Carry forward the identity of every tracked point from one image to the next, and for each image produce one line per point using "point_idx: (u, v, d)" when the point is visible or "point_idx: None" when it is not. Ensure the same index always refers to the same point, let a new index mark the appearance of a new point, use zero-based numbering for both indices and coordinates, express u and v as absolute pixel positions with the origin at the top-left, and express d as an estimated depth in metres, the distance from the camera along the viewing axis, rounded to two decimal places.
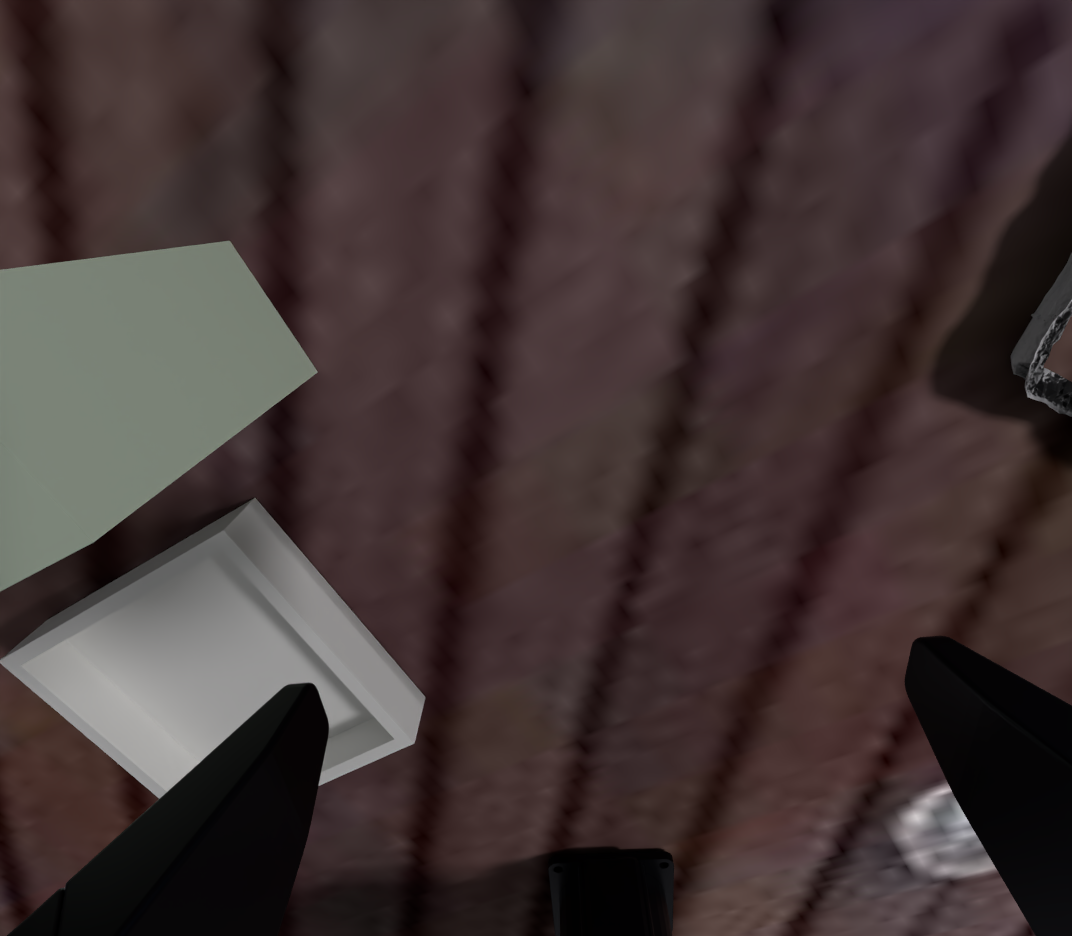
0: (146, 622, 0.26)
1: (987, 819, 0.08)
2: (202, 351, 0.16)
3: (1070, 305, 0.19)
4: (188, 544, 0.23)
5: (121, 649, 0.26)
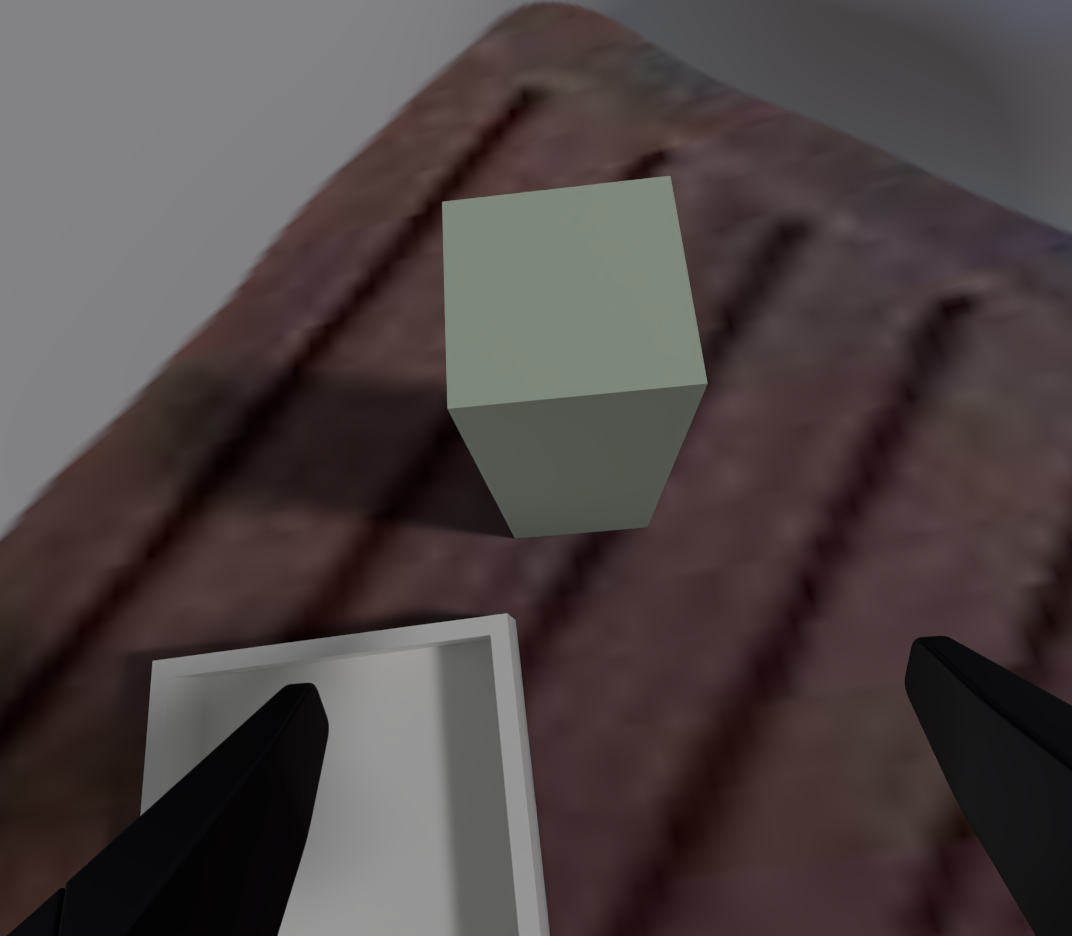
0: None
1: (987, 819, 0.08)
2: None
3: None
4: None
5: None
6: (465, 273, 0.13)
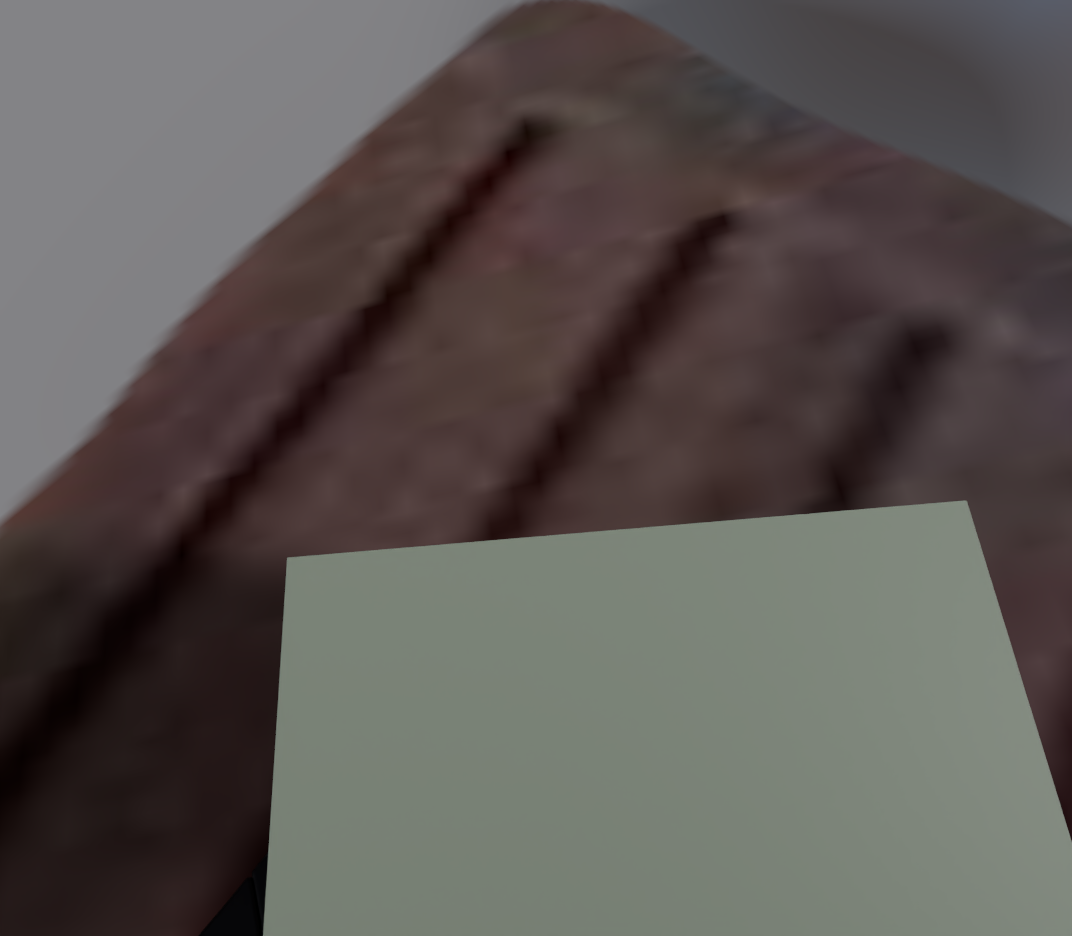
0: None
1: None
2: None
3: None
4: None
5: None
6: (338, 842, 0.04)
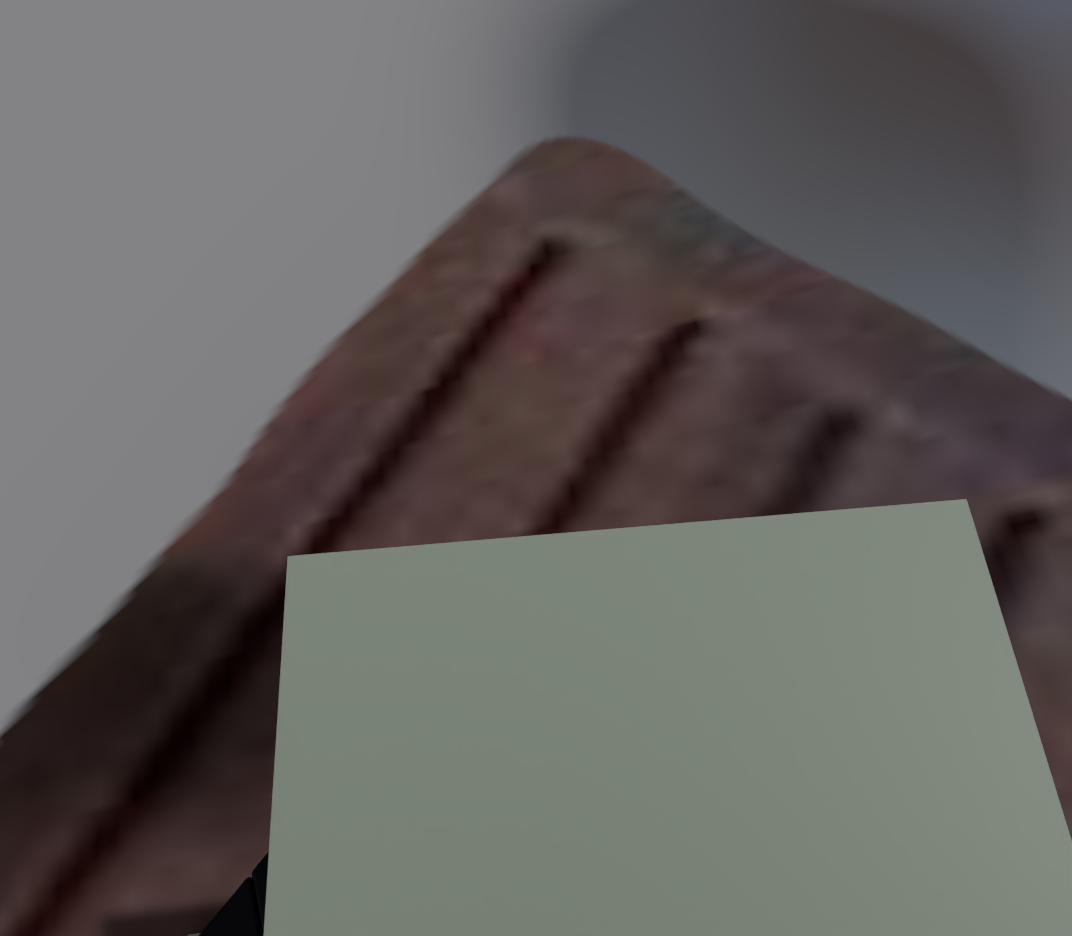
0: None
1: None
2: None
3: None
4: None
5: None
6: (338, 841, 0.04)
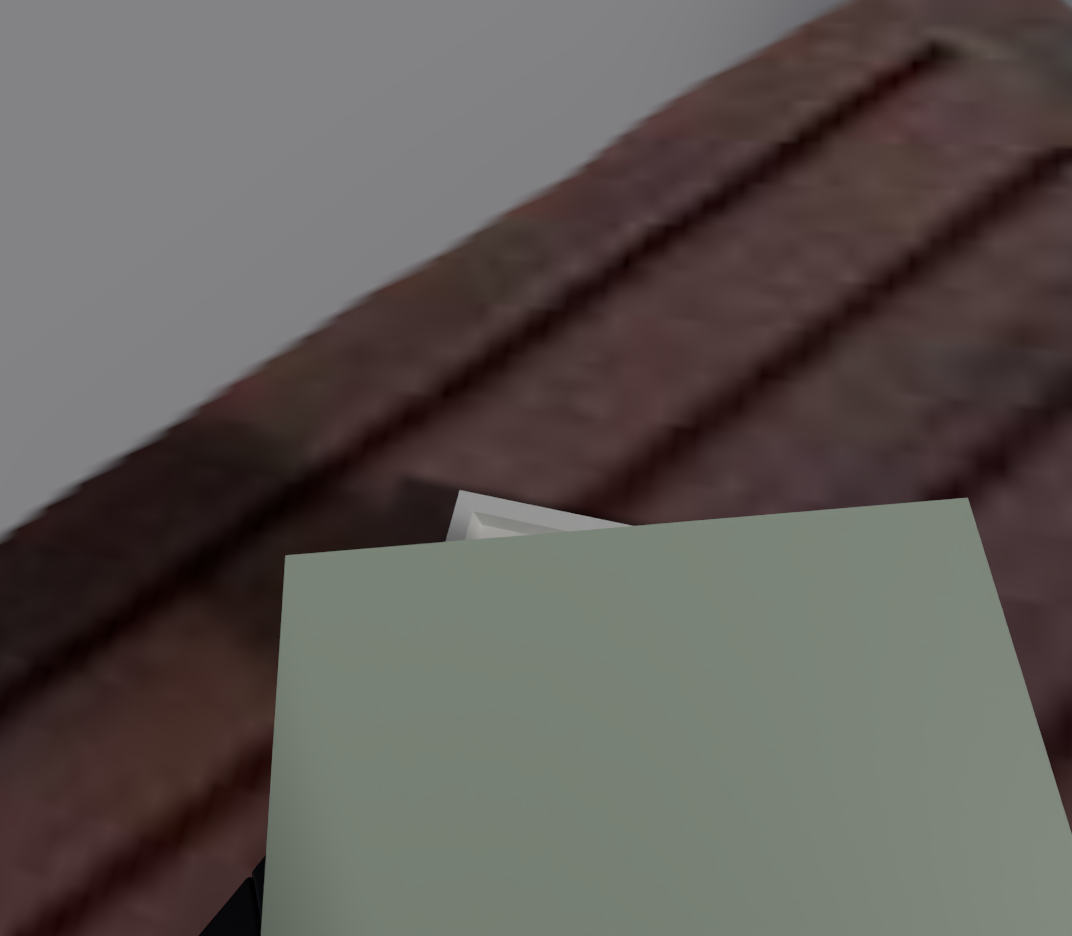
0: None
1: None
2: None
3: None
4: None
5: None
6: (335, 844, 0.04)
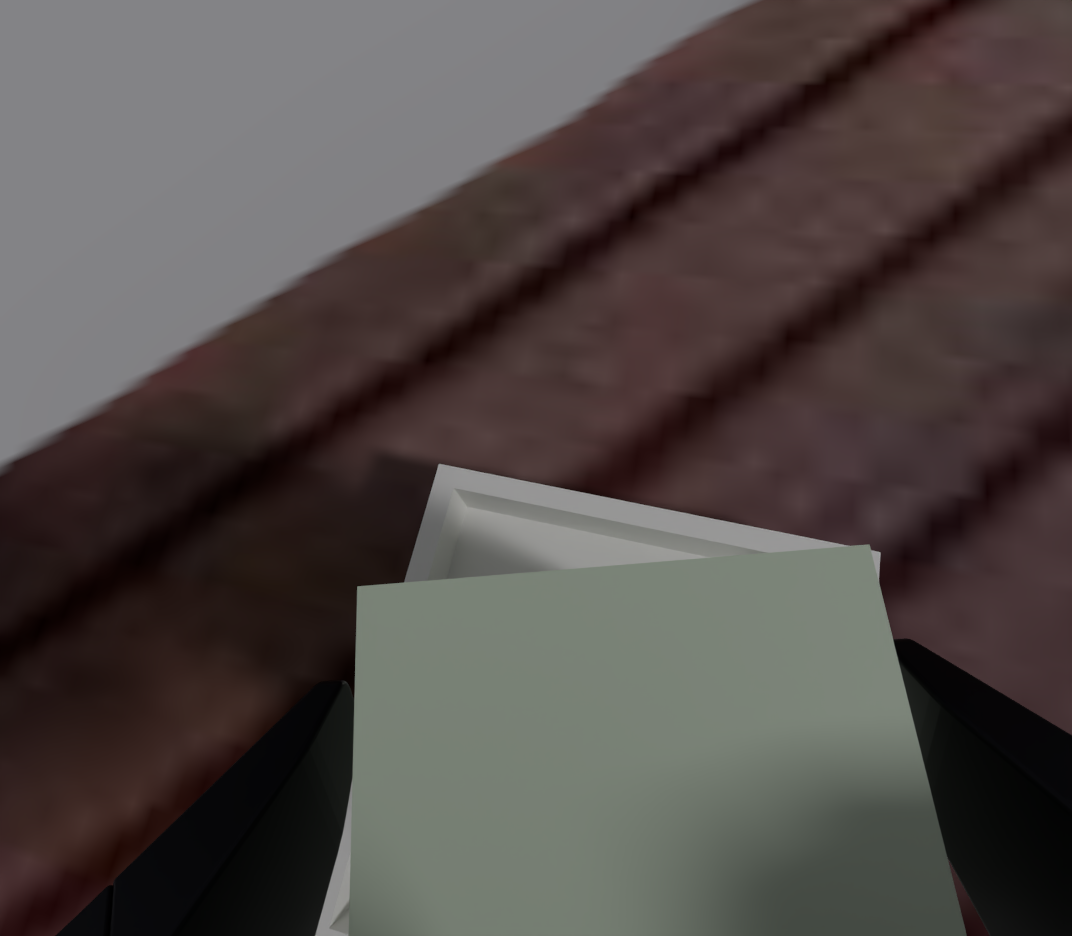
0: None
1: (946, 822, 0.08)
2: None
3: None
4: None
5: None
6: (403, 798, 0.05)
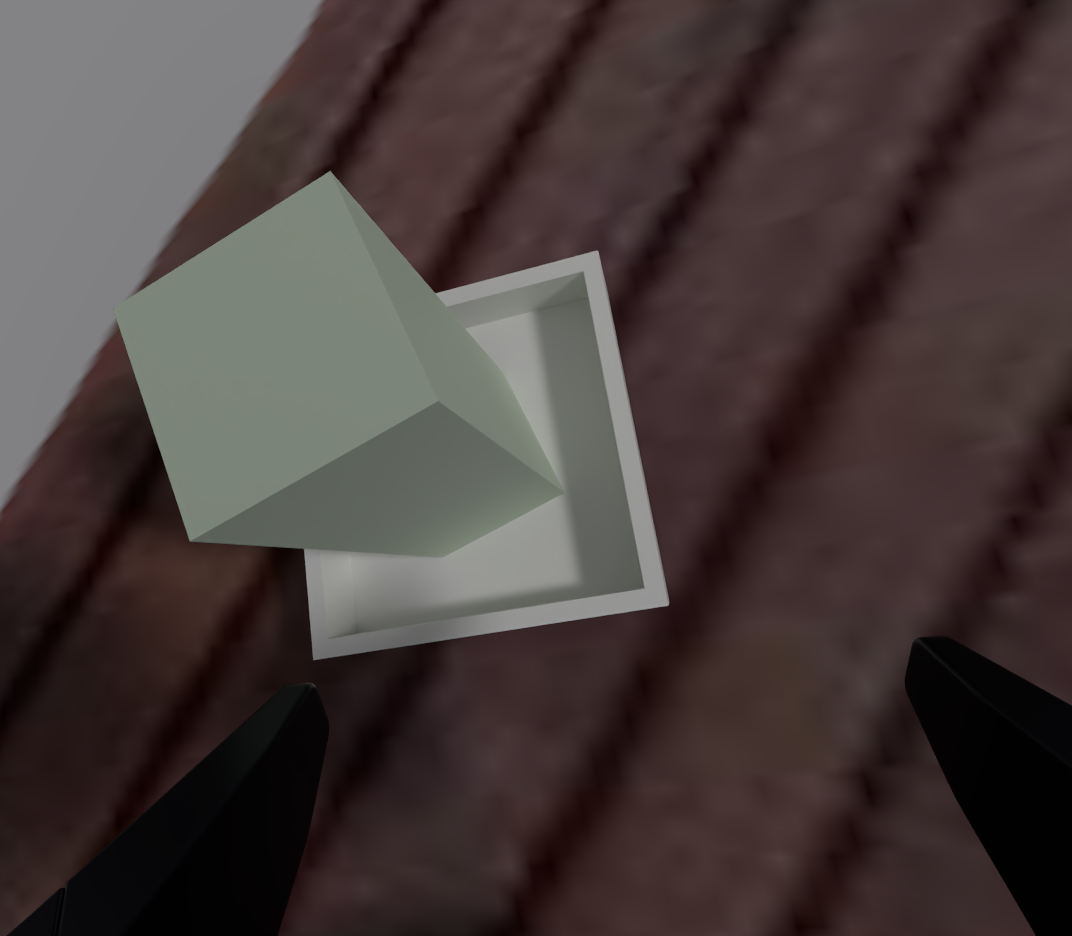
0: None
1: (987, 819, 0.08)
2: (496, 398, 0.17)
3: None
4: None
5: None
6: (160, 379, 0.11)
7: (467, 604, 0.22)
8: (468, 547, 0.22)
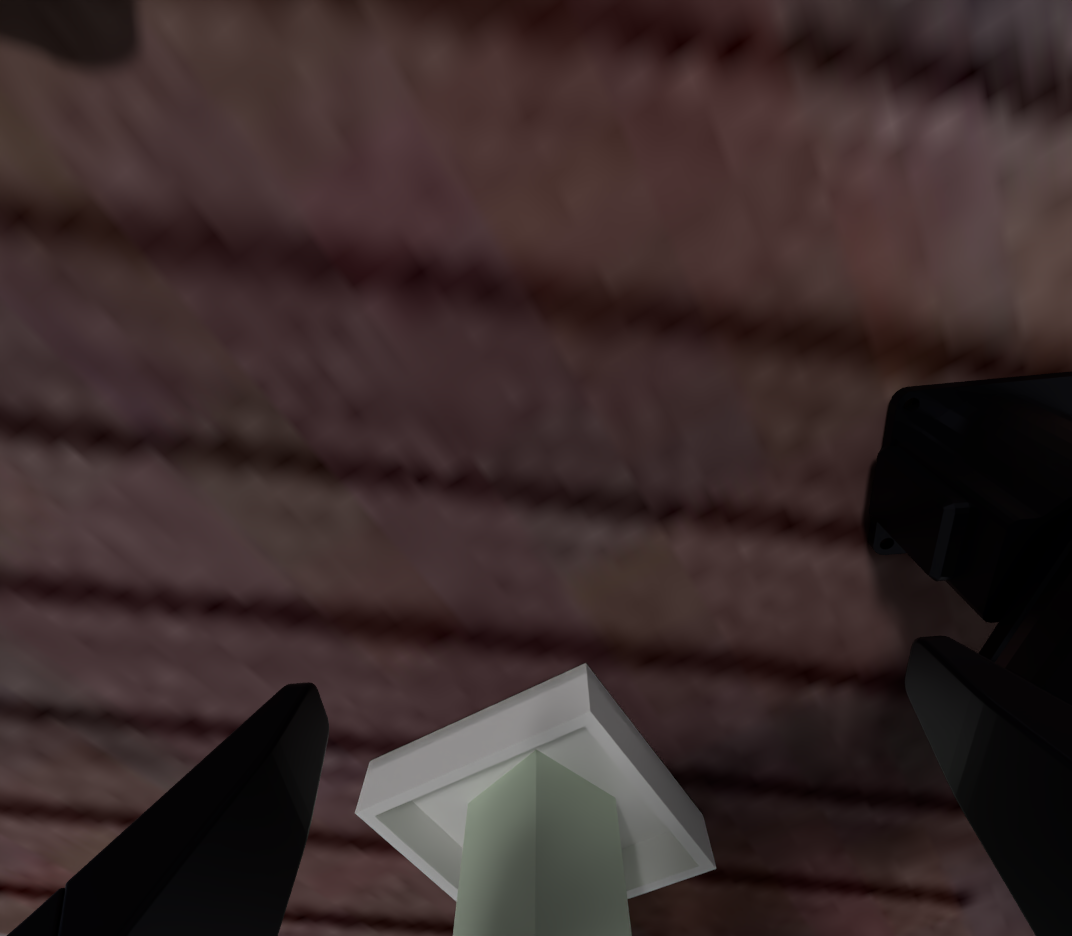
0: None
1: (987, 819, 0.08)
2: (498, 897, 0.24)
3: None
4: None
5: None
6: None
7: None
8: (601, 786, 0.29)
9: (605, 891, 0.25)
